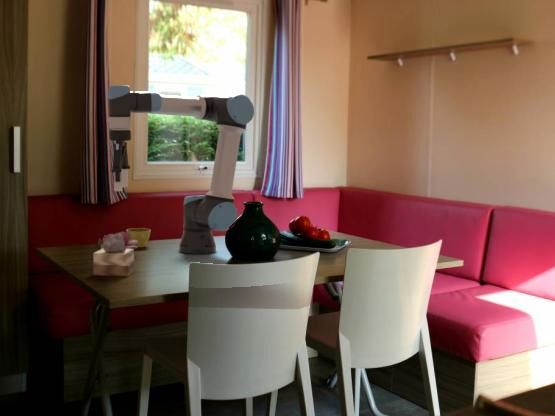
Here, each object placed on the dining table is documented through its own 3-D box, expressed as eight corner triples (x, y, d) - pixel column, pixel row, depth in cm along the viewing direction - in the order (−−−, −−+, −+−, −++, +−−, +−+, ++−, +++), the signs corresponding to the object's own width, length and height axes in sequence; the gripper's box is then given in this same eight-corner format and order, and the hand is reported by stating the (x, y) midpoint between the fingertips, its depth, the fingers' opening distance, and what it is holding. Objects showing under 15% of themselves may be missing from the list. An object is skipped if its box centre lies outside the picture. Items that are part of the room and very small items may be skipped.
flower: (145, 251, 280) (140, 226, 280) (108, 258, 272) (103, 233, 273) (133, 255, 293) (128, 231, 293) (98, 263, 285) (92, 238, 286)
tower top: (133, 259, 259) (133, 248, 259) (124, 265, 248) (124, 254, 248) (103, 258, 260) (103, 247, 259) (93, 264, 249) (93, 253, 248)
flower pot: (130, 244, 312) (131, 227, 311) (153, 245, 310) (153, 228, 309) (122, 248, 302) (122, 231, 301) (146, 249, 300) (146, 232, 300)
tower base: (135, 270, 260) (135, 259, 260) (128, 277, 249) (128, 266, 248) (101, 269, 260) (101, 258, 260) (93, 276, 249) (93, 265, 248)
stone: (101, 253, 249) (100, 236, 248) (105, 248, 258) (105, 232, 258) (125, 253, 249) (124, 236, 249) (128, 248, 259) (128, 232, 258)
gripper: (115, 128, 270) (116, 185, 272) (102, 130, 245) (104, 192, 248) (135, 128, 270) (136, 185, 273) (125, 130, 245) (126, 192, 248)
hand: (121, 189), depth 260 cm, fingers open, 13 cm apart
